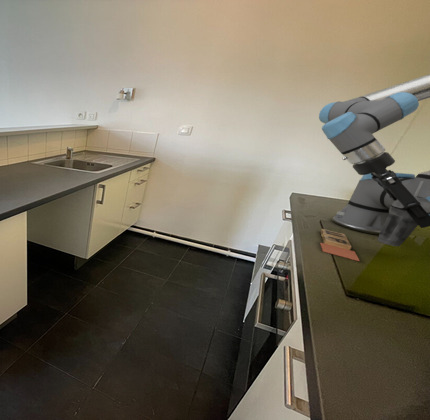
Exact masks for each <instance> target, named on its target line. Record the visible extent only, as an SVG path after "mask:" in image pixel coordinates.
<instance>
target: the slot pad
mask: <svg viewBox="0 0 430 420" xmlns="http://www.w3.org/2000/svg"><path fill="white" fill-rule="evenodd" d="M319 244H320V247H321V251H322V252H323V253H325V254H331V255H333V256H338V257H341V258H344V259H349V260H352V261H356V262H360V258H359V257H358V255H357V253H356V252H355V251H354V250H351V249H350V250H347V249H343V248H339V247H336V246H332V245H328V244H324V242H320V243H319Z"/></svg>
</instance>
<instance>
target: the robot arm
mask: <svg viewBox="0 0 430 420" xmlns="http://www.w3.org/2000/svg"><path fill="white" fill-rule="evenodd" d="M427 99H430V73H429V74H426V75H423V76H419V77H417V78H413V79H411V80H407V81H405V82H400V83H399V84H394V85H391V86H389V87H386V88H382V89H380V90H376V91H373V92H370V93H367V94H364V95H360V96H358V97H355V98H351V99H348V100H344V101H333V102H330V103H327V104H325V105H324V106H323V107H322V108H321V110H320V111H319V113H318V119H319V121H320V122H321V123H323V125H322V127H321V130H322V132H323V134H324V135H325V137H326V138H327V140H329V141H330V142H331V144H333V146H334V147H335V148H336V149H337V151H338V152H339V153H340V154H341V155H342V156H343V157H342V160H343V161H347V162H348V163H349V164H350V165H352V169H354V171H355V172H356V173H357V174H358V175H359V176H361V178H360V179H359V180H358V182H357V185H356V186H355V188H354V190H353V192H352V195H351V196H350V198H349V201H347V204H346V205H345V206H344V207H342V208H341V210H338V211H337V212H336V214H334V216H333V217H332V219H331V221H332V223H334V224H336V225H338V226H340V227H342V228H346V229H349V230H353V231H355V232H360V233H364V234H370V235H375V236H376V235H377V236H379V234H380V232H381V230H382V227H383V225H384V223H385V221H386V219H387V216H388V214H389V209H390V207H391V206H390V205H391V204H393V202H394V201H396V200H397V199H398V201H399V202H400V203H401V204H402V205H403V206H404V207H403V208H401V209H402V210H406V211H407V212H408V213H409V215H410V216H411V217H412V218H413V219H414V220H415V222H416V223H417V224H418V226H419V227H420V229H424V228H429V227H430V214H428V213H427V212H426V211H425V210H424V209H423V208H422V206H421V204H420V202H418V201H417V200H416V198H415V197H414V194H415V192H416V190H417V188H418V186H419V184H420V182H421V181H424V182H423V184H422V186H421V188H420V191H419V193H418V195H417V196H419V197H423V198H426V199H427V200H429V201H430V169H429V170H427V171H422V172H419V173H417V175H416V174H414V173H403V172H395V171H393V170H391V169H387V168H388V167H391V166H392V165H394V164H395V163H396V160H395V158H394V157H393V156H392V155H391V154H390V153H389V152H388V151H387V152H386V148H385V146H384V145H382V143H381V142H380V141H379V140H378V139H377V138H376V137H375V136H374V135H373V134H375V133H377V132H379V131H381V130H383V129H384V128H387V127H389V126H391V125H393V124H395V123H397V122H399V121H402V120H403V119H404V118H406V117H408V116H409V115H411V114H412V113H414V112H416V111H417V110H418V108H419V106H420V103H419V102H421V101H425V100H427ZM411 202H412V203H411Z"/></svg>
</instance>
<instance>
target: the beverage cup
mask: <svg viewBox="0 0 430 420" xmlns="http://www.w3.org/2000/svg"><path fill="white" fill-rule="evenodd" d="M423 182H424V181H421V182H420V184H419V186H418V188H417V190H416V192H415V194H414V197H415V198H416V200H417V201H418V202H420V204H421V206H422V208H423V209H424V210H425V211H426V212H427V213H428V214H430V201H429V200H427V199H426V198H423V197H419V196H417V195H418V193H419V191H420V188H421V186H422V184H423ZM411 203H412V202H411ZM390 206H391V207H390V209H389V214H388V216H387V219H386V221H385V223H384V225H383V227H382V230H381V232H380V234H379V235H378V237H377V239H376V241H378V242H379V243H382V244H384V245H388V246H392V247H401V245H402V244H403V243H404V242H405V241H406V240H407V239H408V238H409V236H411V234H412V233H413V232H414V231H415V230H416V228H418V226H419V225H418V224H417V223H416V222H415V220H414V219H413V218H412V217H411V216H410V215H409V213H408V212H407V211H406V210H402V209H401V208H403V207H404V206H403V205H402V204H401V203H400V202H399V201H398V199H397V200H396V201H394V202H393V204H391V205H390Z"/></svg>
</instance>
